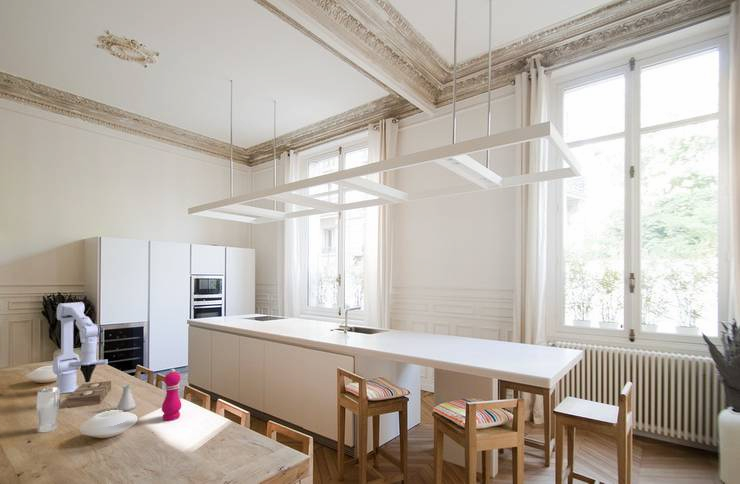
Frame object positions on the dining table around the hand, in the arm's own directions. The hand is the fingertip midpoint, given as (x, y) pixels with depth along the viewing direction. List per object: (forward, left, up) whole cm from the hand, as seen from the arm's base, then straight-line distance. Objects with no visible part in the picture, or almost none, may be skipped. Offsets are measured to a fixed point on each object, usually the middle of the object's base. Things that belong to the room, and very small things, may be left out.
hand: (87, 381), depth 174 cm
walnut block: (-6, 0, -9) cm, 11 cm away
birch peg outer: (0, 0, -9) cm, 9 cm away
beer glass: (+28, -6, -10) cm, 30 cm away
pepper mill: (+35, +37, -10) cm, 52 cm away
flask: (+16, +18, -10) cm, 26 cm away
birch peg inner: (-12, 0, -9) cm, 15 cm away
